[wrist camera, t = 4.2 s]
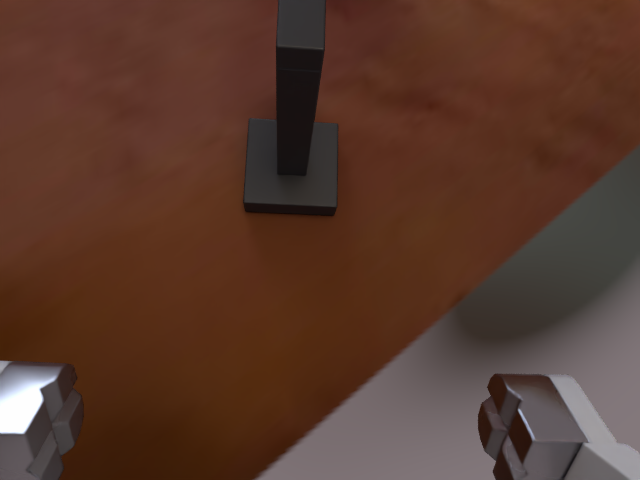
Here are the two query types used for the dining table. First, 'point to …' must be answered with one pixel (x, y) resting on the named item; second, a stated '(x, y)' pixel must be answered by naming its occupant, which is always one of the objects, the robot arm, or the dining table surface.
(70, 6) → the dining table surface
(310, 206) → the black hanger
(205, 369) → the dining table surface
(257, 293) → the dining table surface
